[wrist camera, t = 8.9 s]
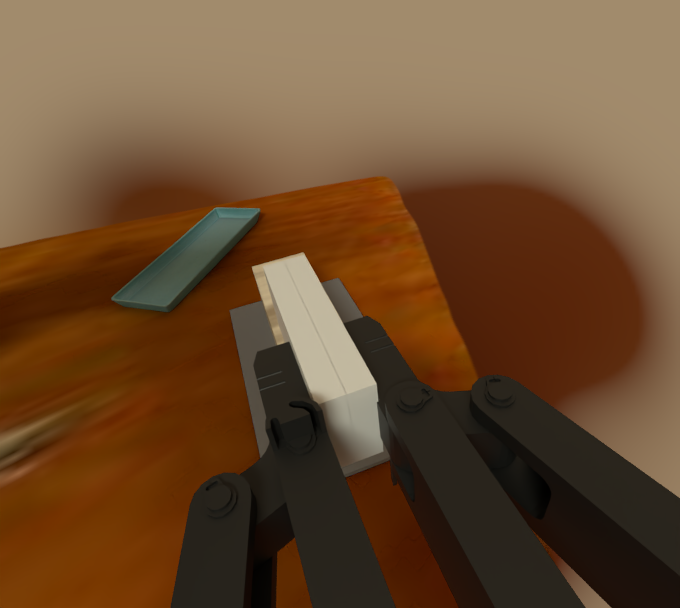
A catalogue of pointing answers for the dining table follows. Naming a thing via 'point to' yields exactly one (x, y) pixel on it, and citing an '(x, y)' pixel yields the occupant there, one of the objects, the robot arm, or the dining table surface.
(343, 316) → the rubber mat
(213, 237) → the shallow long dish
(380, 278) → the dining table surface
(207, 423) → the dining table surface
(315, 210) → the dining table surface
